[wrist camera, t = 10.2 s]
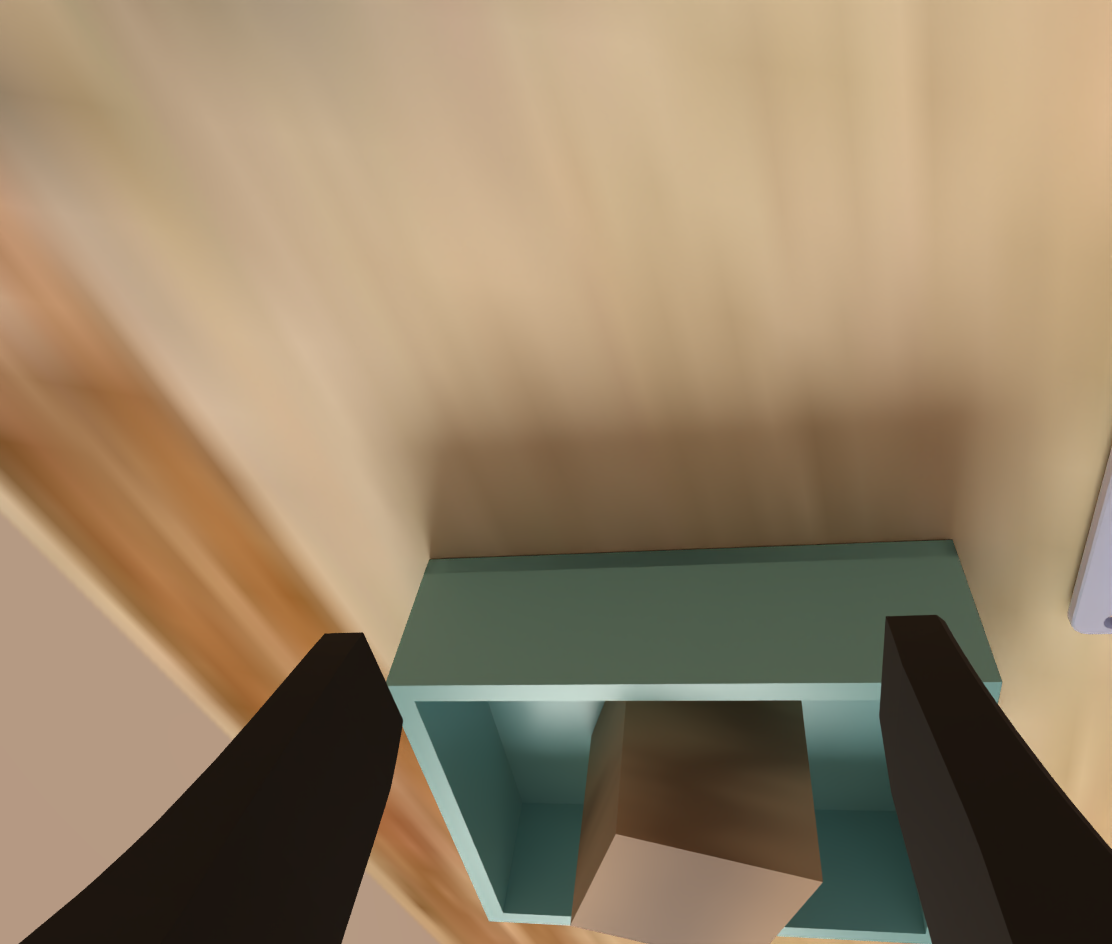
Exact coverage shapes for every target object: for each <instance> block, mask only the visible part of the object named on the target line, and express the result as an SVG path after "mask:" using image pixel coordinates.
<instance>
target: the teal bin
mask: <svg viewBox="0 0 1112 944" xmlns="http://www.w3.org/2000/svg"><path fill="white" fill-rule="evenodd" d="M908 615H938V616H939V617H940V618H942V619H943V620H944V621H945V622H946V624H947V625H948V627H949V629H950V631H951V632H952V634H953V636H954V638H955V639H956V641H957V642H958V644H959V646H960V647H961V649H962V651H963V652H964V654H965V656H966V657H967V659H968V660H969V662H970V663H971V665H972V667H973V668H974V670H975V671H976V673H977V674H978V676H979V677H980V679H981V680H982V682H983V683H984V685H985V686H986V688H987V689H988V691H989V692H990V693H991V695H992V696H993V698H994V699H995V701H996V702H997V704H998V700H999V695H1000V691H1001V686H1002V680H1001V677H1000V674H999V671H998V668H997V665H996V663H995V660H994V657H993V654H992V651H991V648H990V645H989V643H988V640H987V637H986V634H985V631H984V628H983V625H982V623H981V620H980V617H979V614H978V611H977V608H976V606H975V603H974V600H973V597H972V594H971V591H970V588H969V586H968V583H967V580H966V577H965V574H964V571H963V568H962V566H961V563H960V560H959V557H958V554H957V551H956V548H955V546H954V543H953V540H932V541H905V542H879V543H853V544H826V545H800V546H773V547H747V548H721V549H694V550H668V551H641V552H615V553H589V554H562V555H536V556H509V557H483V558H456V559H430V560H429V562H428V564H427V567H426V570H425V573H424V576H423V579H422V581H421V584H420V587H419V590H418V593H417V596H416V598H415V601H414V604H413V607H412V610H411V613H410V615H409V618H408V621H407V624H406V627H405V630H404V632H403V635H402V638H401V641H400V644H399V647H398V650H397V652H396V655H395V658H394V661H393V664H392V667H391V669H390V672H389V675H388V678H387V681H386V683H387V686H388V688H389V690H390V692H391V694H392V696H393V699H394V701H395V703H396V705H397V707H398V709H399V712H400V714H401V716H402V718H403V725H402V726H403V728H404V731H405V733H406V735H407V737H408V740H409V742H410V744H411V746H412V749H413V751H414V753H415V755H416V758H417V760H418V762H419V764H420V767H421V769H422V771H423V773H424V776H425V778H426V780H427V782H428V785H429V787H430V789H431V791H432V794H433V796H434V798H435V800H436V803H437V805H438V807H439V809H440V812H441V814H442V816H443V818H444V821H445V823H446V825H447V827H448V830H449V832H450V834H451V836H452V839H453V841H454V843H455V845H456V848H457V850H458V852H459V854H460V857H461V859H462V861H463V863H464V866H465V868H466V870H467V872H468V875H469V877H470V879H471V881H472V884H473V886H474V888H475V890H476V893H477V895H478V897H479V899H480V902H481V904H482V906H483V908H484V911H485V913H486V915H487V917H488V920H489V921H495V922H514V923H534V924H553V925H570V923H571V914H572V905H573V897H574V888H575V879H576V870H577V861H578V852H579V843H580V834H581V825H582V816H583V807H584V798H585V789H586V780H587V771H588V762H589V753H590V744H591V735H592V733H593V731H594V728H595V726H596V723H597V721H598V718H599V716H600V713H601V711H602V708H603V706H604V703H605V701H760V700H801V701H802V710H803V718H804V727H805V735H806V743H807V752H808V760H809V769H810V777H811V785H812V794H813V802H814V811H815V819H816V827H817V836H818V844H819V853H820V861H821V869H822V878H823V883H822V884H821V885H820V886H819V887H818V889H817V890H816V891H815V892H814V893H813V894H812V895H811V897H810V898H809V899H808V900H807V901H806V902H805V904H804V905H803V906H802V907H801V908H800V909H799V911H798V912H797V913H796V914H795V915H794V916H793V918H792V919H791V920H790V921H789V922H788V923H787V924H786V926H785V927H784V928H783V929H782V930H781V931H780V933H779V934H778V935H777V936H784V937H803V938H823V939H842V940H861V941H881V942H900V943H919V944H932V942H931V938H930V934H929V931H928V927H927V923H926V920H925V916H924V912H923V909H922V905H921V901H920V898H919V894H918V890H917V887H916V883H915V879H914V876H913V872H912V868H911V865H910V861H909V857H908V854H907V850H906V846H905V843H904V839H903V835H902V831H901V828H900V824H899V820H898V817H897V813H896V809H895V805H894V801H893V798H892V794H891V788H890V782H889V776H888V770H887V764H886V758H885V751H884V745H883V739H882V732H881V726H880V719H879V709H880V694H881V679H882V664H883V649H884V634H885V619H886V616H908Z"/></svg>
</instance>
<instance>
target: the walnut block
mask: <svg viewBox="0 0 1112 944" xmlns="http://www.w3.org/2000/svg"><path fill="white" fill-rule="evenodd" d="M822 883H823V878H822V869H821V861H820V853H819V844H818V836H817V827H816V819H815V811H814V802H813V794H812V785H811V777H810V769H809V760H808V752H807V743H806V735H805V727H804V718H803V710H802V701H801V700H760V701H605V703H604V706H603V708H602V711H601V713H600V716H599V718H598V721H597V723H596V726H595V728H594V731H593V733H592V735H591V744H590V753H589V762H588V771H587V780H586V789H585V798H584V807H583V816H582V825H581V834H580V843H579V852H578V861H577V870H576V879H575V888H574V897H573V905H572V914H571V923H570V926H573V927H578V928H582V929H586V930H591V931H595V932H600V933H604V934H608V935H613V936H617V937H621V938H626V939H630V940H634V941H639V942H643V943H648V944H770V943H771V942H772V941H773V940H774V938H775V937H776V936H777V935H778V934H779V933H780V931H781V930H782V929H783V928H784V927H785V926H786V924H787V923H788V922H789V921H790V920H791V919H792V918H793V916H794V915H795V914H796V913H797V912H798V911H799V909H800V908H801V907H802V906H803V905H804V904H805V902H806V901H807V900H808V899H809V898H810V897H811V895H812V894H813V893H814V892H815V891H816V890H817V889H818V887H819V886H820V885H821V884H822Z"/></svg>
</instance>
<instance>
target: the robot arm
mask: <svg viewBox="0 0 1112 944" xmlns="http://www.w3.org/2000/svg"><path fill="white" fill-rule="evenodd" d="M1110 616H1112V448H1111V451H1110V455H1109V459H1108V463H1107V466H1106V470H1105V474H1104V478H1103V481H1102V485H1101V489H1100V493H1099V496H1098V500H1097V504H1096V508H1095V512H1094V515H1093V519H1092V523H1091V527H1090V530H1089V534H1088V538H1087V542H1086V545H1085V549H1084V553H1083V557H1082V561H1081V564H1080V568H1079V572H1078V576H1077V579H1076V583H1075V587H1074V591H1073V594H1072V598H1071V602H1070V606H1069V609H1068V619H1069V621H1070V623H1071V626H1072V627H1073V628H1074V630H1075V631H1078V632H1080V633H1084V634H1112V617H1110ZM879 719H880V726H881V732H882V739H883V745H884V751H885V758H886V764H887V770H888V776H889V782H890V788H891V794H892V798H893V801H894V805H895V809H896V813H897V817H898V820H899V824H900V828H901V831H902V835H903V839H904V843H905V846H906V850H907V854H908V857H909V861H910V865H911V868H912V872H913V876H914V879H915V883H916V887H917V890H918V894H919V898H920V901H921V905H922V909H923V912H924V916H925V920H926V923H927V927H928V931H929V934H930V938H931V942H932V944H1112V849H1111V848H1110V847H1109V846H1108V844H1107V843H1106V842H1105V841H1104V840H1103V839H1102V837H1101V836H1100V835H1099V834H1098V833H1097V831H1096V830H1095V829H1094V828H1093V827H1092V825H1091V824H1090V823H1089V822H1088V821H1087V819H1086V818H1085V817H1084V816H1083V815H1082V814H1081V812H1080V811H1079V810H1078V809H1077V808H1076V806H1075V805H1074V804H1073V803H1072V802H1071V800H1070V799H1069V798H1068V797H1067V795H1066V794H1065V793H1064V792H1063V790H1062V789H1061V788H1060V787H1059V785H1058V784H1057V783H1056V782H1055V780H1054V779H1053V778H1052V777H1051V775H1050V774H1049V773H1048V771H1047V770H1046V769H1045V767H1044V766H1043V765H1042V763H1041V762H1040V761H1039V759H1038V758H1037V757H1036V755H1035V754H1034V753H1033V751H1032V750H1031V749H1030V748H1029V746H1028V745H1027V744H1026V742H1025V741H1024V740H1023V738H1022V737H1021V736H1020V734H1019V733H1018V732H1017V730H1016V729H1015V728H1014V726H1013V725H1012V723H1011V722H1010V721H1009V719H1008V718H1007V716H1006V715H1005V714H1004V712H1003V711H1002V709H1001V708H1000V707H999V705H998V704H997V702H996V701H995V699H994V698H993V696H992V695H991V693H990V692H989V691H988V689H987V688H986V686H985V685H984V683H983V682H982V680H981V679H980V677H979V676H978V674H977V673H976V671H975V670H974V668H973V667H972V665H971V663H970V662H969V660H968V659H967V657H966V656H965V654H964V652H963V651H962V649H961V647H960V646H959V644H958V642H957V641H956V639H955V638H954V636H953V634H952V632H951V631H950V629H949V627H948V625H947V624H946V622H945V621H944V620H943V619H942V618H940V617H939V616H938V615H908V616H886V619H885V634H884V649H883V664H882V679H881V694H880V709H879ZM402 725H403V718H402V716H401V714H400V712H399V709H398V707H397V705H396V703H395V701H394V699H393V696H392V694H391V692H390V690H389V688H388V686H387V683H386V681H385V679H384V677H383V675H382V672H381V670H380V668H379V666H378V664H377V662H376V659H375V657H374V655H373V653H372V651H371V649H370V646H369V644H368V642H367V640H366V638H365V636H364V633H363V632H362V633H330V634H324V635H323V636H322V637H321V639H320V640H319V641H318V642H317V643H316V644H315V645H314V646H313V648H312V649H311V650H310V651H309V652H308V653H307V655H306V656H305V657H304V658H303V659H302V660H301V662H300V663H299V664H298V665H297V666H296V667H295V669H294V670H293V671H292V672H291V673H290V674H289V676H288V677H287V678H286V679H285V680H284V681H283V683H282V684H281V685H280V686H279V687H278V689H277V690H276V691H275V692H274V693H273V694H272V696H271V697H270V698H269V699H268V700H267V701H266V703H265V704H264V705H263V706H262V707H261V708H260V710H259V711H258V712H257V713H256V714H255V715H254V717H253V718H252V719H251V720H250V721H249V722H248V723H247V725H246V726H245V727H244V728H243V729H242V730H241V731H240V732H239V734H238V735H237V736H236V737H235V738H234V739H233V740H232V742H231V743H230V744H229V745H228V746H227V747H226V748H225V749H224V751H223V752H222V753H221V754H220V755H219V756H218V758H217V759H216V760H215V761H214V762H213V763H212V764H211V765H210V766H209V767H208V768H207V769H206V770H205V771H204V772H203V773H202V774H201V776H200V777H199V778H198V779H197V780H196V781H195V782H194V783H193V784H192V785H191V786H190V787H189V788H188V789H187V791H185V793H183V795H182V796H181V797H180V798H179V799H178V800H177V801H176V802H175V803H174V804H173V805H172V806H171V807H170V808H169V809H168V810H167V811H166V812H165V814H164V815H163V816H162V817H161V818H160V819H159V820H158V821H157V822H156V823H155V824H154V825H153V826H152V827H151V828H150V829H149V830H148V831H147V832H146V833H145V834H144V835H143V836H141V837H140V838H139V839H138V840H137V841H136V842H135V843H134V844H133V845H132V846H131V847H130V848H129V849H128V850H127V851H126V852H125V853H124V854H122V855H121V856H120V857H119V858H118V859H117V860H116V861H115V862H114V863H113V864H112V865H110V866H109V867H108V868H107V869H106V870H105V871H104V872H103V873H102V874H101V875H100V876H99V877H97V878H96V879H95V880H94V881H93V882H92V883H91V884H90V885H88V886H87V887H86V888H85V889H84V890H83V891H82V892H80V893H79V894H78V895H77V896H76V897H75V898H73V899H72V900H71V901H70V902H69V903H67V904H66V905H65V906H64V907H63V908H61V909H60V910H59V911H58V912H57V913H55V914H54V915H53V916H52V917H51V918H49V919H48V920H47V921H46V922H44V923H43V924H42V925H41V926H40V927H38V928H37V929H36V930H35V931H34V932H33V933H31V934H30V935H29V936H28V937H26V938H25V939H24V940H23V941H22V942H20V943H19V944H341V943H342V940H343V937H344V933H345V930H346V927H347V924H348V921H349V918H350V915H351V912H352V909H353V905H354V902H355V899H356V896H357V893H358V890H359V887H360V884H361V881H362V878H363V875H364V871H365V868H366V865H367V862H368V859H369V856H370V853H371V850H372V847H373V844H374V840H375V837H376V834H377V831H378V828H379V825H380V821H381V818H382V815H383V812H384V809H385V805H386V802H387V799H388V795H389V792H390V789H391V784H392V779H393V774H394V769H395V765H396V760H397V754H398V748H399V743H400V737H401V731H402Z"/></svg>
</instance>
